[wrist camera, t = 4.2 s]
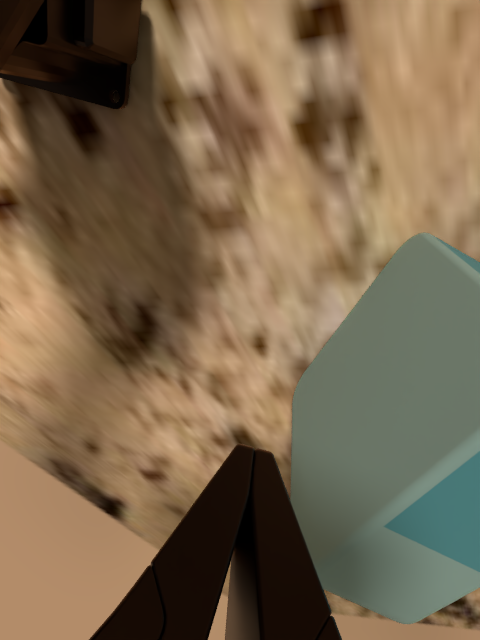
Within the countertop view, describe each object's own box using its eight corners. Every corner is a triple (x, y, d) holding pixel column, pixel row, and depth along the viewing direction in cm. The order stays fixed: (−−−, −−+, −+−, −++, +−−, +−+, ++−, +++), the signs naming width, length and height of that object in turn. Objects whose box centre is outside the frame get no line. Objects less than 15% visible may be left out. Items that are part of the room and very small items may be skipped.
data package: (350, 417, 24) (391, 640, 14) (291, 387, 24) (285, 594, 13) (490, 266, 19) (742, 449, 8) (416, 223, 18) (579, 357, 8)
